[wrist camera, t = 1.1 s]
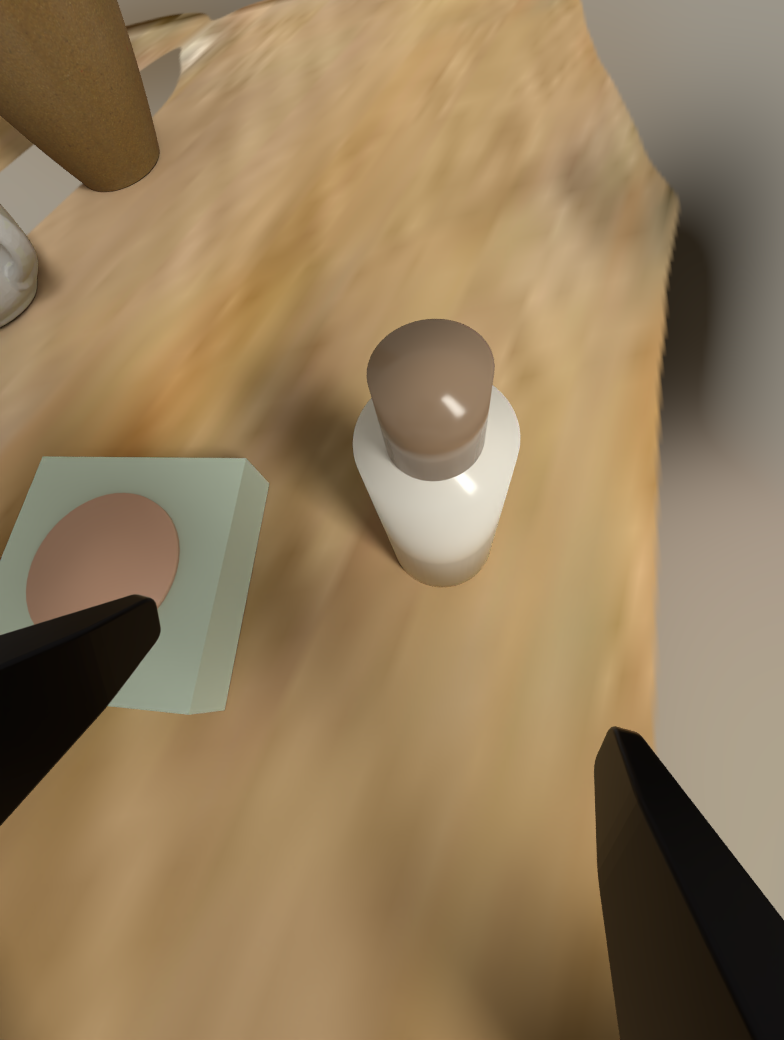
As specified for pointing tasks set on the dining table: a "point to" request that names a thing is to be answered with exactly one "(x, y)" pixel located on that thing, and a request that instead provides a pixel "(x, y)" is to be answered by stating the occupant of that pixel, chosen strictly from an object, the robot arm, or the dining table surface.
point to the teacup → (15, 269)
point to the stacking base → (143, 562)
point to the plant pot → (77, 89)
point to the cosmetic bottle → (436, 448)
